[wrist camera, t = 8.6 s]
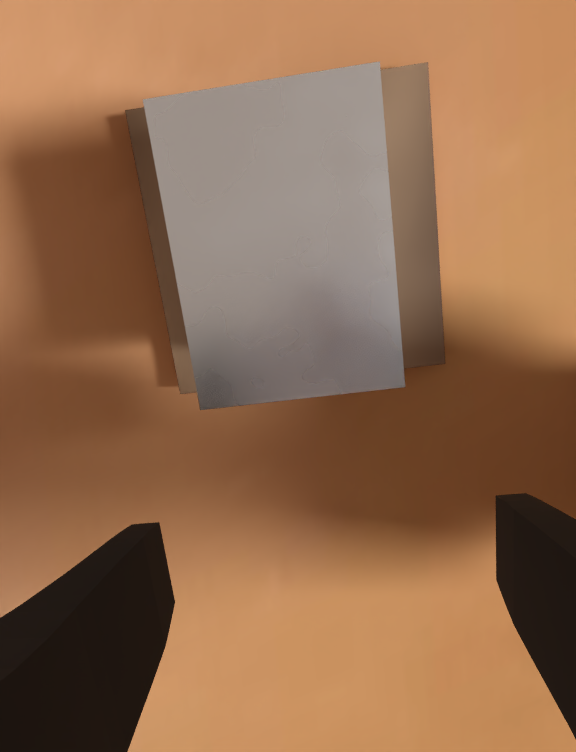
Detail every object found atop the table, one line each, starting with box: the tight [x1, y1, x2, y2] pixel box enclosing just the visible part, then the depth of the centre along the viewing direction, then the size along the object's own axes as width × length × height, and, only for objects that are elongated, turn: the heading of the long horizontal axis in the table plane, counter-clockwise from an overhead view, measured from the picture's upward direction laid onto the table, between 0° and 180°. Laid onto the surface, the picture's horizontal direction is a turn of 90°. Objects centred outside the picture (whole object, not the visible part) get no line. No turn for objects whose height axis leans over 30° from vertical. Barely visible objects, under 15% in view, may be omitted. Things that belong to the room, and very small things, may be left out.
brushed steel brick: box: [143, 62, 405, 410], centre depth 15 cm, size 5×7×7 cm
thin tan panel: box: [125, 62, 445, 394], centre depth 18 cm, size 10×10×4 cm
